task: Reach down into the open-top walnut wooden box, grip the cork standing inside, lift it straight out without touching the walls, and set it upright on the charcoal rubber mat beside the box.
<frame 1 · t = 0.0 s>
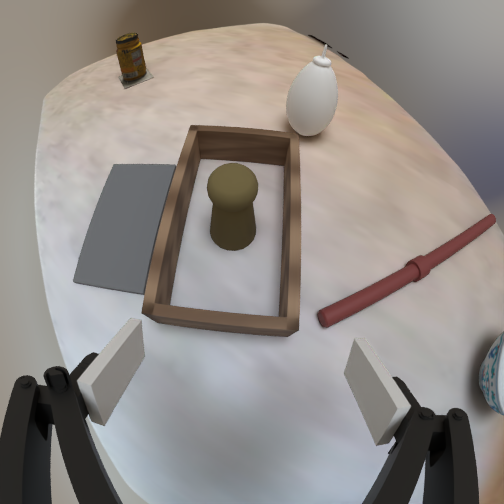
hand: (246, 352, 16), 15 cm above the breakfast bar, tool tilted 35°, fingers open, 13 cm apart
cork: (233, 230, 36), resting in wooden box
wooden box: (233, 229, 36), on the breakfast bar
sauce bottle: (303, 132, 45), on the breakfast bar
condiment: (135, 78, 52), on the breakfast bar
charcoal mat: (124, 220, 36), on the breakfast bar
red rod with collar: (433, 259, 37), on the breakfast bar
chinaware: (488, 374, 29), on the breakfast bar
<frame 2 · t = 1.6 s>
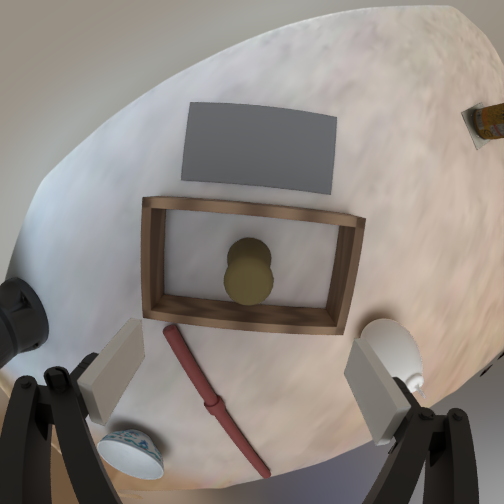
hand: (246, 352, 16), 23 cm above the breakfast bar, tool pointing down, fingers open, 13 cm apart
cork: (249, 259, 38), resting in wooden box
wooden box: (249, 259, 38), on the breakfast bar
sauce bottle: (371, 329, 41), on the breakfast bar
condiment: (478, 125, 33), on the breakfast bar
charcoal mat: (260, 145, 34), on the breakfast bar
red rod with collar: (228, 417, 45), on the breakfast bar
chinaware: (138, 437, 47), on the breakfast bar
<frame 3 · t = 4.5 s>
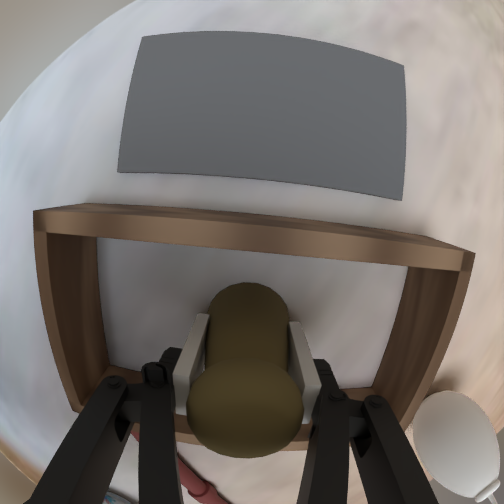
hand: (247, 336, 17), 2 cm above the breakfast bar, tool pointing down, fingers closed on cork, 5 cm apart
cork: (247, 320, 20), resting in wooden box, touching gripper
wooden box: (247, 321, 20), on the breakfast bar
sauce bottle: (427, 400, 22), on the breakfast bar
charcoal mat: (269, 101, 16), on the breakfast bar
red rod with collar: (221, 497, 27), on the breakfast bar
chinaware: (115, 497, 29), on the breakfast bar
when the fingers open (4 cm above the breakfast bar, at t = 11.0 s): cork stays where it is, resting on charcoal mat.
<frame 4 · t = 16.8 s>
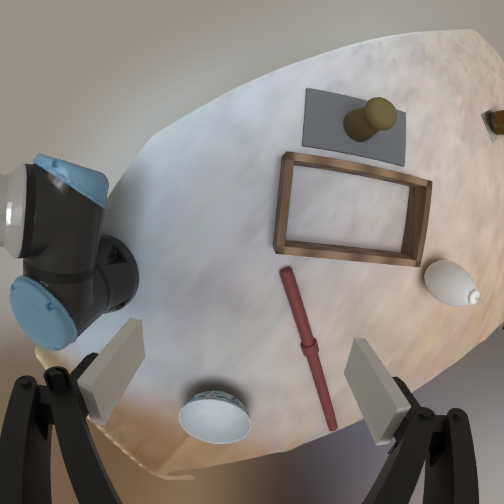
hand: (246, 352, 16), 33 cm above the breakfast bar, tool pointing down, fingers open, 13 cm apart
cork: (358, 126, 42), resting on charcoal mat
wooden box: (351, 210, 46), on the breakfast bar
sauce bottle: (429, 272, 49), on the breakfast bar
condiment: (493, 124, 41), on the breakfast bar
charcoal mat: (358, 126, 43), on the breakfast bar
red rod with collar: (314, 363, 53), on the breakfast bar
chinaware: (218, 399, 55), on the breakfast bar
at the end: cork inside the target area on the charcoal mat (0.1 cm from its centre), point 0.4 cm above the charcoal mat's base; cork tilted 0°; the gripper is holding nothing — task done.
